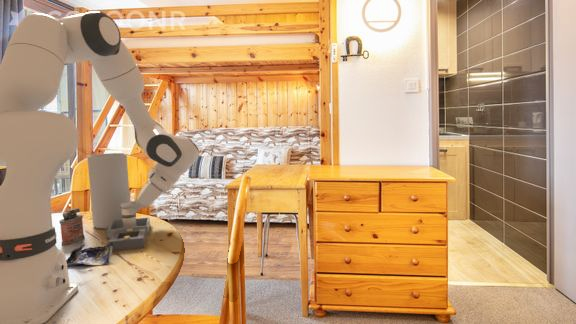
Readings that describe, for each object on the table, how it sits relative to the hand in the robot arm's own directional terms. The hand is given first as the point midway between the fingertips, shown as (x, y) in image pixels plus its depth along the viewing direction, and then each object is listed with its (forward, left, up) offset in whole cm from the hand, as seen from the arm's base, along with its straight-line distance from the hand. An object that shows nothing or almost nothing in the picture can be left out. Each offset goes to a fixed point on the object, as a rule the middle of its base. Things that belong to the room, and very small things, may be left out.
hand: (132, 210), depth 128 cm
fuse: (0, +1, -7) cm, 7 cm away
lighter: (-4, +17, -8) cm, 19 cm away
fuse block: (-14, 0, -7) cm, 16 cm away
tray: (0, +1, -7) cm, 7 cm away
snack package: (-26, +9, -8) cm, 29 cm away
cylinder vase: (+13, +8, -8) cm, 17 cm away
